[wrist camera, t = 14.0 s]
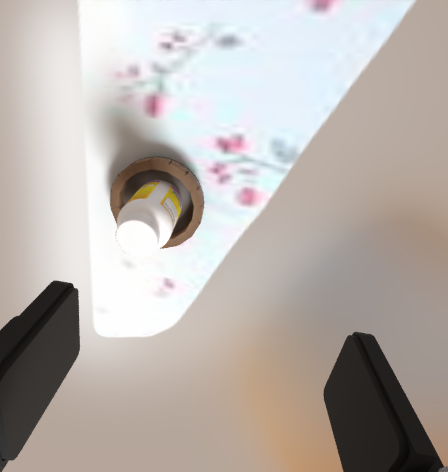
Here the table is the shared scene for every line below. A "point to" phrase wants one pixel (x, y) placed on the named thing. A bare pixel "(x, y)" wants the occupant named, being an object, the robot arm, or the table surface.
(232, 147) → the table surface
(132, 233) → the supplement bottle
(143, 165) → the ring holder
